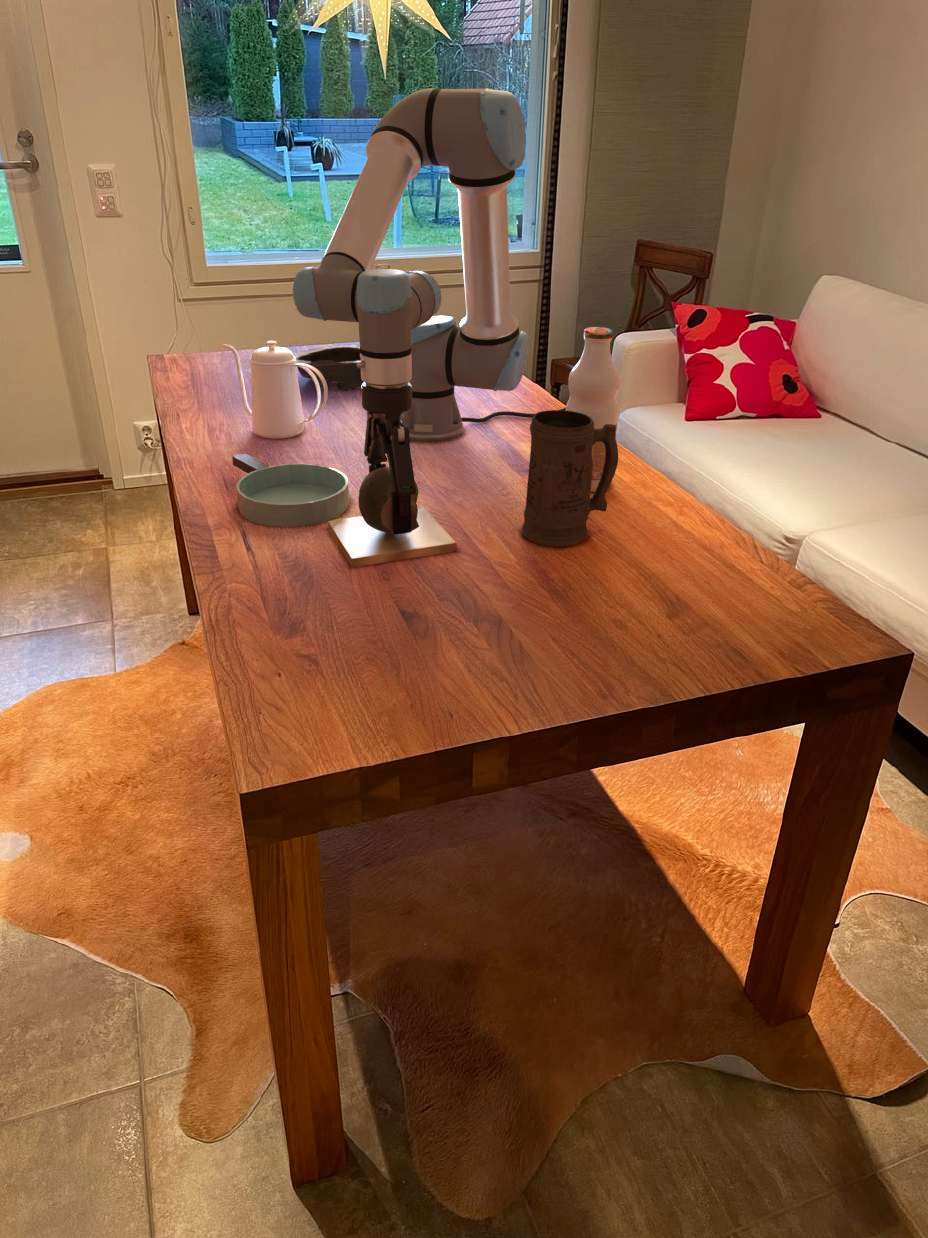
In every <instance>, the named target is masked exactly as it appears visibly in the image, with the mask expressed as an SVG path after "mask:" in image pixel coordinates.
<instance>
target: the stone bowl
mask: <svg viewBox="0 0 928 1238" xmlns="http://www.w3.org/2000/svg"><path fill="white" fill-rule="evenodd" d="M292 353H293V356H295V357H296V364H297V363H303V364H308V365H310V366H313V367H315V368H316V369H317V370H319V372H320V373H321V374H322V375H323V377H324V379H325V381H326V382H328V383H336V387H337V389H338V390H339V391H342V392H347V391H350V390H351V391H353V390H356V389H359V388H360V389H361V385H362V384H363V382H364V381H363V380H362V379H361V368H358V367H357V362H359V361H361V357H360V344H348V345H347V344H346V345H330V346H322V347H320V346H319V347H315V348H310V349H307V350H302V351H297V352H292ZM296 369H297V370H298V372H299V374H300V375H301V376H302V377H303V378H305V379H309V380H313V379H312V377H311V376H310V375H309V374H308V372H306V371H305V370H304V369H302V368H301V367H298V366H296ZM310 370H311V369H310ZM311 371H312V372H313V373H314V375H315V376H316V378H317V380H318V381H321V379H320V378H319V376H318V375H317V374H316V373H315V372H314V371H313V370H311Z"/></svg>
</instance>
